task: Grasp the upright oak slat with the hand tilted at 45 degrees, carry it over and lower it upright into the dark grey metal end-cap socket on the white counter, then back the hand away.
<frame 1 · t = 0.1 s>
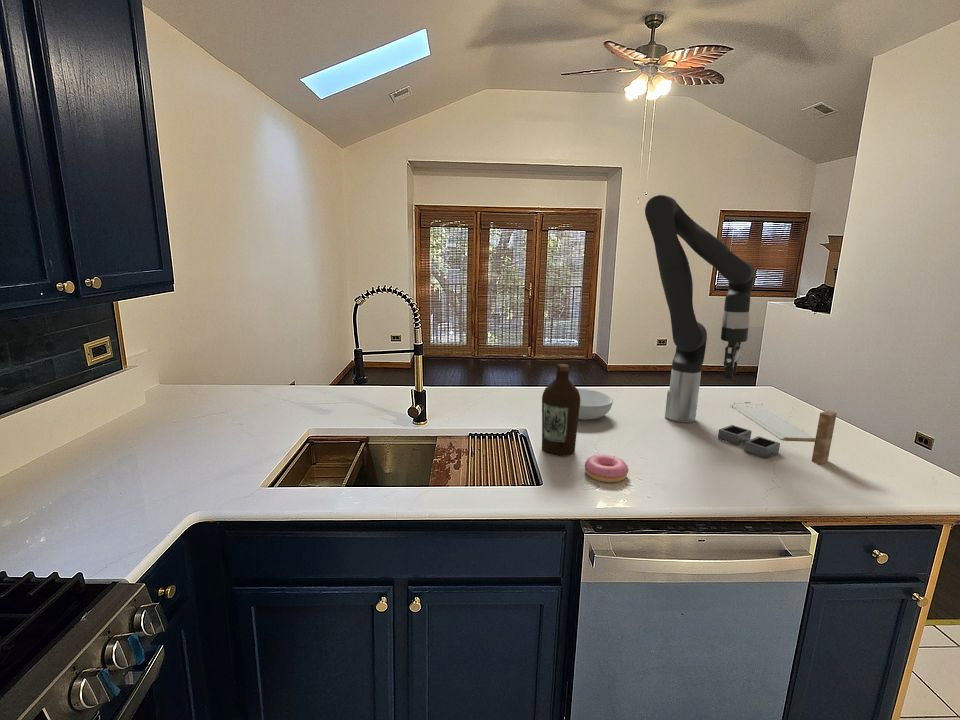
hand: (730, 375, 159), 17 cm above the worktop, tool pointing down, fingers open, 8 cm apart
endcap b: (733, 439, 153), on the worktop
olive oil: (557, 450, 143), on the worktop
slat: (819, 460, 138), on the worktop
serving bowl: (580, 415, 172), on the worktop
baseboard: (767, 424, 168), on the worktop
endcap a: (761, 452, 143), on the worktop
doughnut: (605, 476, 128), on the worktop
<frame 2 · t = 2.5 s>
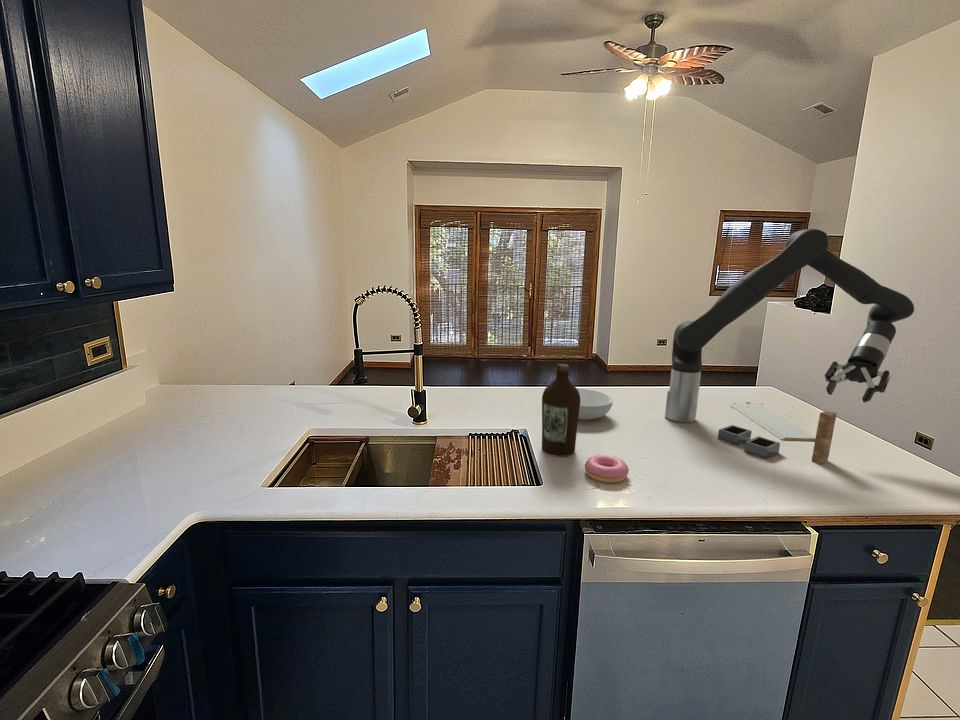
hand: (846, 396, 141), 17 cm above the worktop, tool tilted 45°, fingers open, 8 cm apart
nothing on the worktop moved.
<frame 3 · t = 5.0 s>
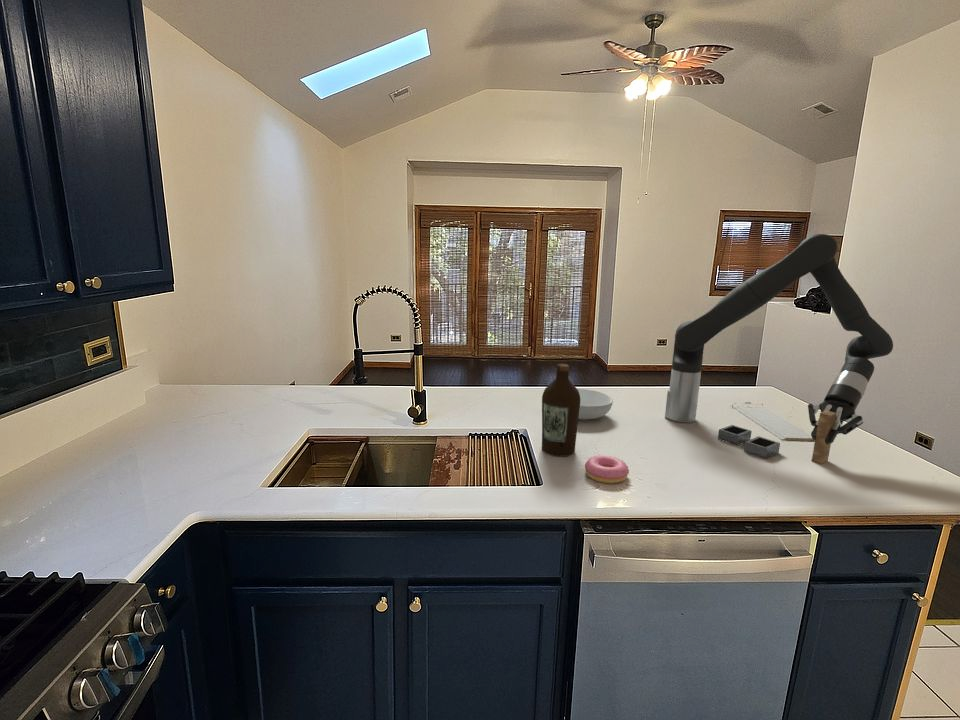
hand: (820, 440, 136), 6 cm above the worktop, tool tilted 45°, fingers closed on slat, 2 cm apart
slat: (819, 460, 138), on the worktop, touching gripper
everything else where it was.
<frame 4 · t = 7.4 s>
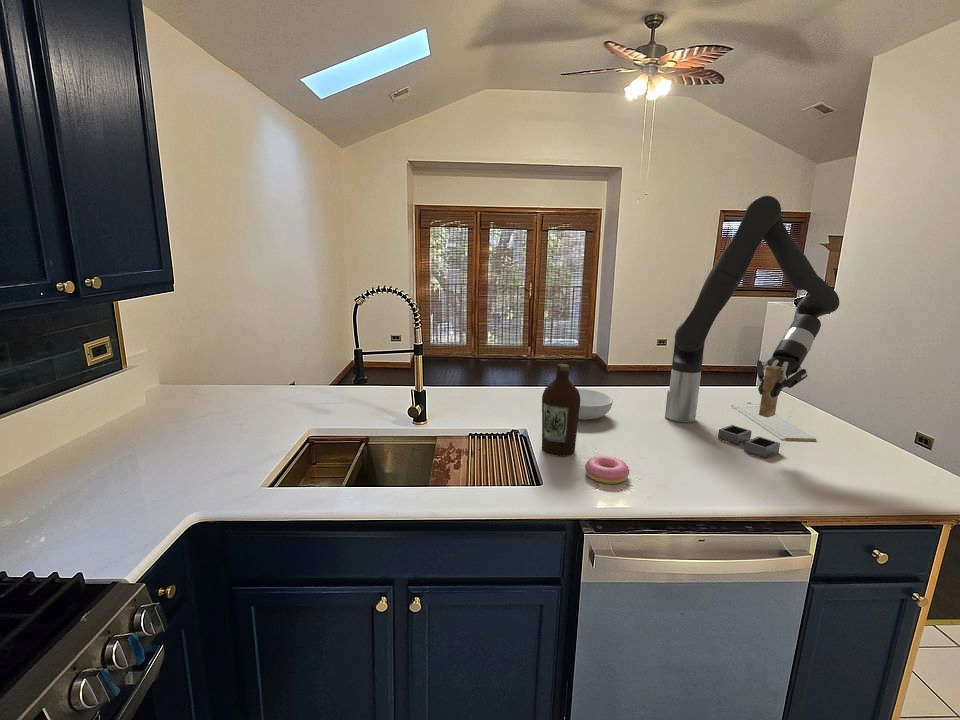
hand: (766, 394, 138), 18 cm above the worktop, tool tilted 45°, fingers closed on slat, 2 cm apart
slat: (766, 415, 141), point 11 cm above the worktop, touching gripper
everything else where it was.
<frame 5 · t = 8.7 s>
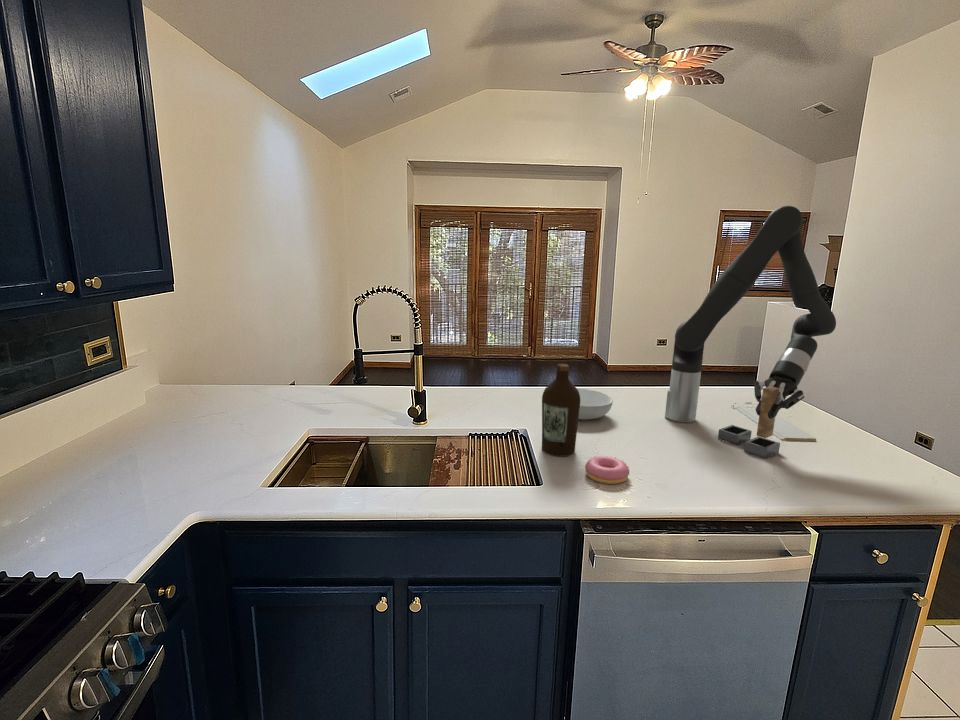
hand: (764, 415, 140), 12 cm above the worktop, tool tilted 45°, fingers closed on slat, 2 cm apart
slat: (764, 435, 142), point 5 cm above the worktop, touching gripper
everything else where it was.
when the fingers open (8 cm above the worktop, at t = 9.8 s): slat drops 1 cm, resting on endcap a.
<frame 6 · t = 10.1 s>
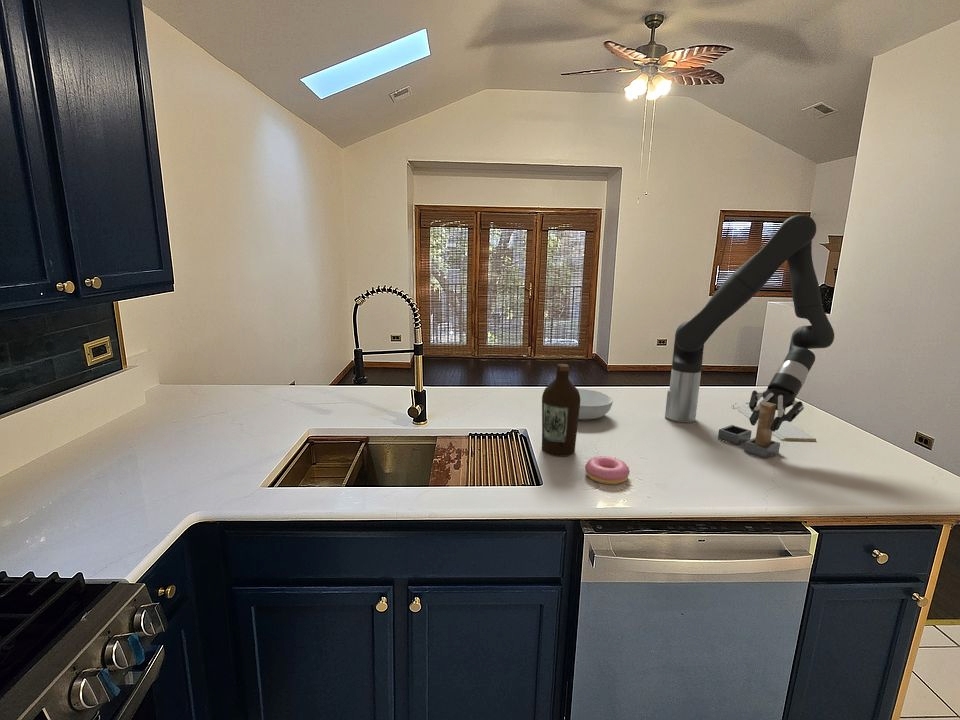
hand: (762, 426, 141), 8 cm above the worktop, tool tilted 45°, fingers open, 5 cm apart
slat: (761, 450, 143), resting on endcap a
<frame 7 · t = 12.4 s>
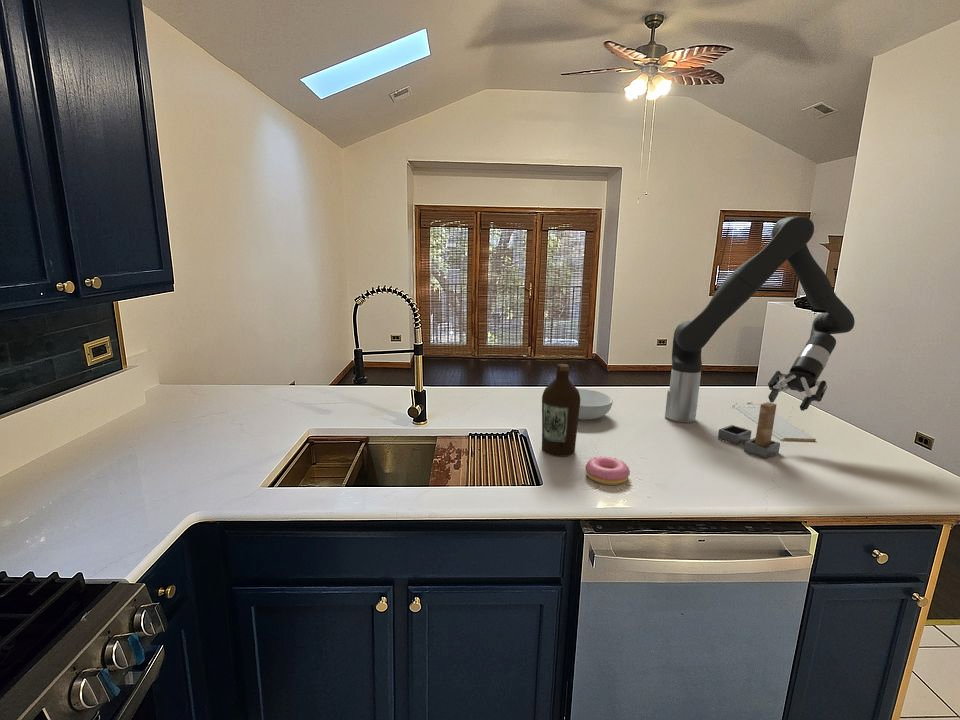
hand: (785, 405, 147), 12 cm above the worktop, tool tilted 45°, fingers open, 8 cm apart
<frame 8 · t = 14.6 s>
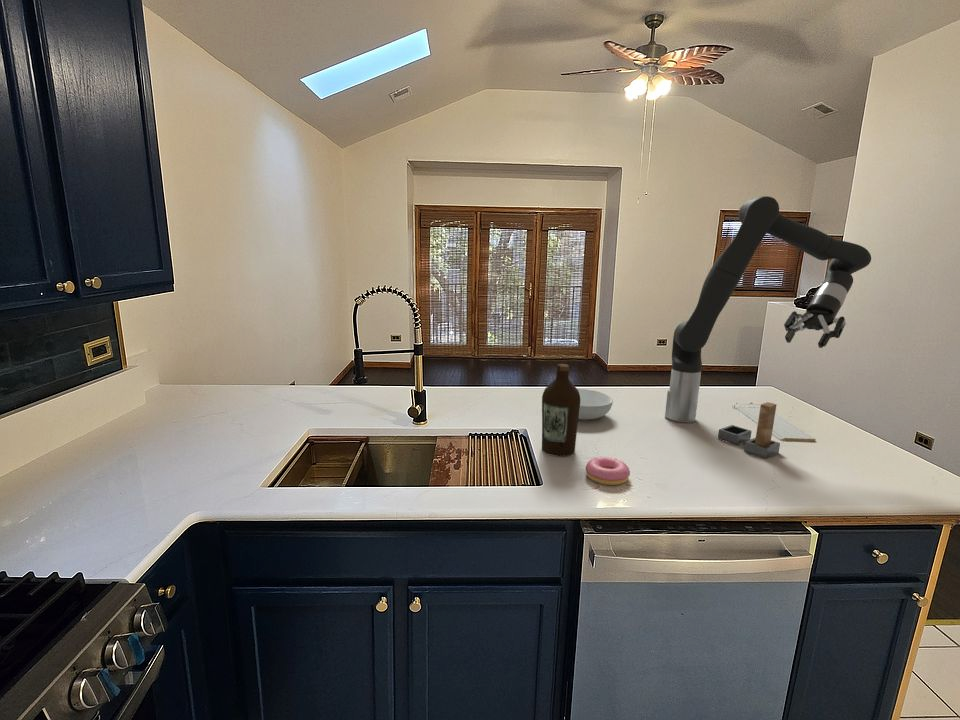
hand: (803, 343, 144), 31 cm above the worktop, tool tilted 45°, fingers open, 8 cm apart
at the end: slat 0.1 cm off-centre on the endcap a, point 0.4 cm above the endcap a's base; slat tilted 0°; the gripper is holding nothing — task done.
